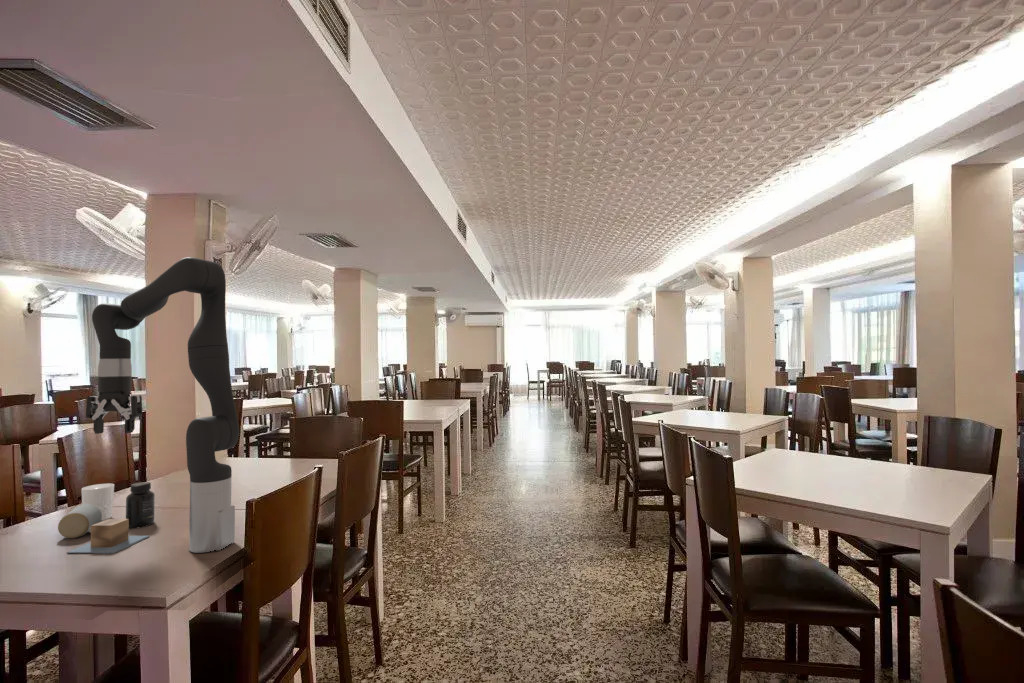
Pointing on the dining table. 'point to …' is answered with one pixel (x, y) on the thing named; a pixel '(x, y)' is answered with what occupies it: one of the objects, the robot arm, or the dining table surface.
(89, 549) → the slate mat
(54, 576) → the dining table surface
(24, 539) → the dining table surface
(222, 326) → the robot arm
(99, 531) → the walnut block
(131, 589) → the dining table surface
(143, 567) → the dining table surface
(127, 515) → the supplement bottle
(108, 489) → the white cup
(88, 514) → the ceramic mug
